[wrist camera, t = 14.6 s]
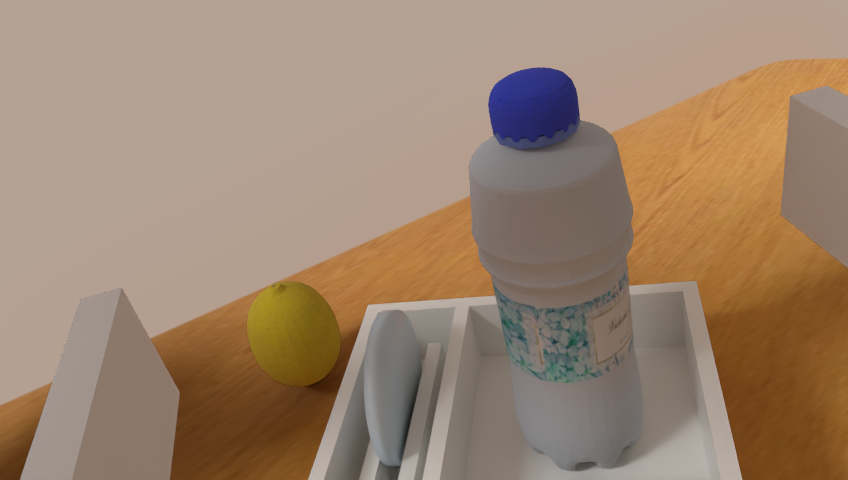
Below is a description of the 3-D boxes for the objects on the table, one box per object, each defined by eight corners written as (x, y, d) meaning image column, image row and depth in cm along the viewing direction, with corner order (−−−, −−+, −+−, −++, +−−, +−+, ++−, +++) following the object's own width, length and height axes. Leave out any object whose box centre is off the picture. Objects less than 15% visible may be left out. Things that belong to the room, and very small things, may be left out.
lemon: (319, 341, 51) (282, 249, 47) (371, 370, 47) (336, 273, 43) (257, 391, 48) (212, 297, 44) (307, 425, 45) (263, 327, 40)
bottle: (631, 504, 34) (591, 113, 23) (499, 469, 37) (410, 113, 26) (663, 400, 39) (641, 35, 28) (543, 377, 42) (482, 42, 31)
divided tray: (333, 566, 36) (271, 442, 31) (388, 366, 47) (350, 252, 42) (745, 576, 31) (749, 431, 26) (697, 350, 42) (694, 220, 38)
